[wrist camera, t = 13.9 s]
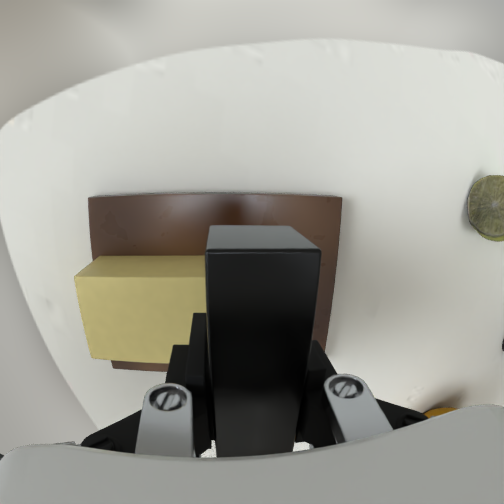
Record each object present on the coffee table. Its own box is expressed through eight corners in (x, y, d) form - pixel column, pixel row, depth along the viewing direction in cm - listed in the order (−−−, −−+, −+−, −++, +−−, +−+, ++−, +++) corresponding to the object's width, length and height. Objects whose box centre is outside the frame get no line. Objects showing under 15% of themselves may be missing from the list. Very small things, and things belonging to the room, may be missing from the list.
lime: (459, 237, 19) (505, 254, 14) (459, 174, 17) (508, 179, 12) (490, 229, 19) (533, 243, 14) (490, 172, 18) (535, 178, 13)
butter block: (110, 326, 16) (91, 358, 13) (99, 255, 15) (73, 276, 12) (223, 329, 17) (226, 364, 14) (222, 255, 16) (224, 277, 12)
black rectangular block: (216, 381, 16) (221, 500, 8) (212, 205, 14) (204, 249, 6) (257, 380, 16) (283, 495, 9) (264, 205, 14) (323, 249, 6)
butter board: (116, 360, 18) (112, 368, 17) (94, 196, 15) (87, 197, 14) (318, 357, 20) (322, 365, 19) (335, 195, 17) (342, 197, 16)
